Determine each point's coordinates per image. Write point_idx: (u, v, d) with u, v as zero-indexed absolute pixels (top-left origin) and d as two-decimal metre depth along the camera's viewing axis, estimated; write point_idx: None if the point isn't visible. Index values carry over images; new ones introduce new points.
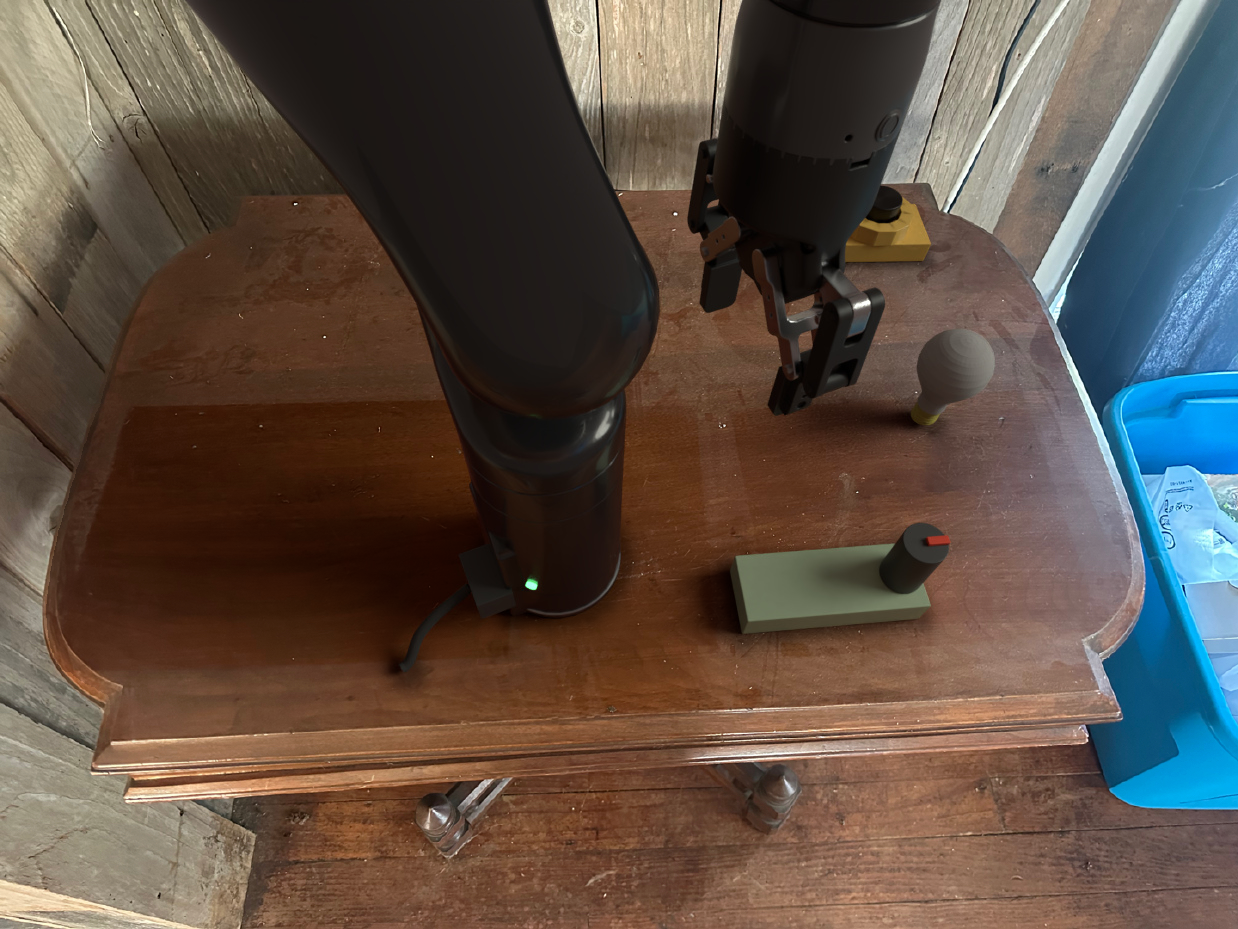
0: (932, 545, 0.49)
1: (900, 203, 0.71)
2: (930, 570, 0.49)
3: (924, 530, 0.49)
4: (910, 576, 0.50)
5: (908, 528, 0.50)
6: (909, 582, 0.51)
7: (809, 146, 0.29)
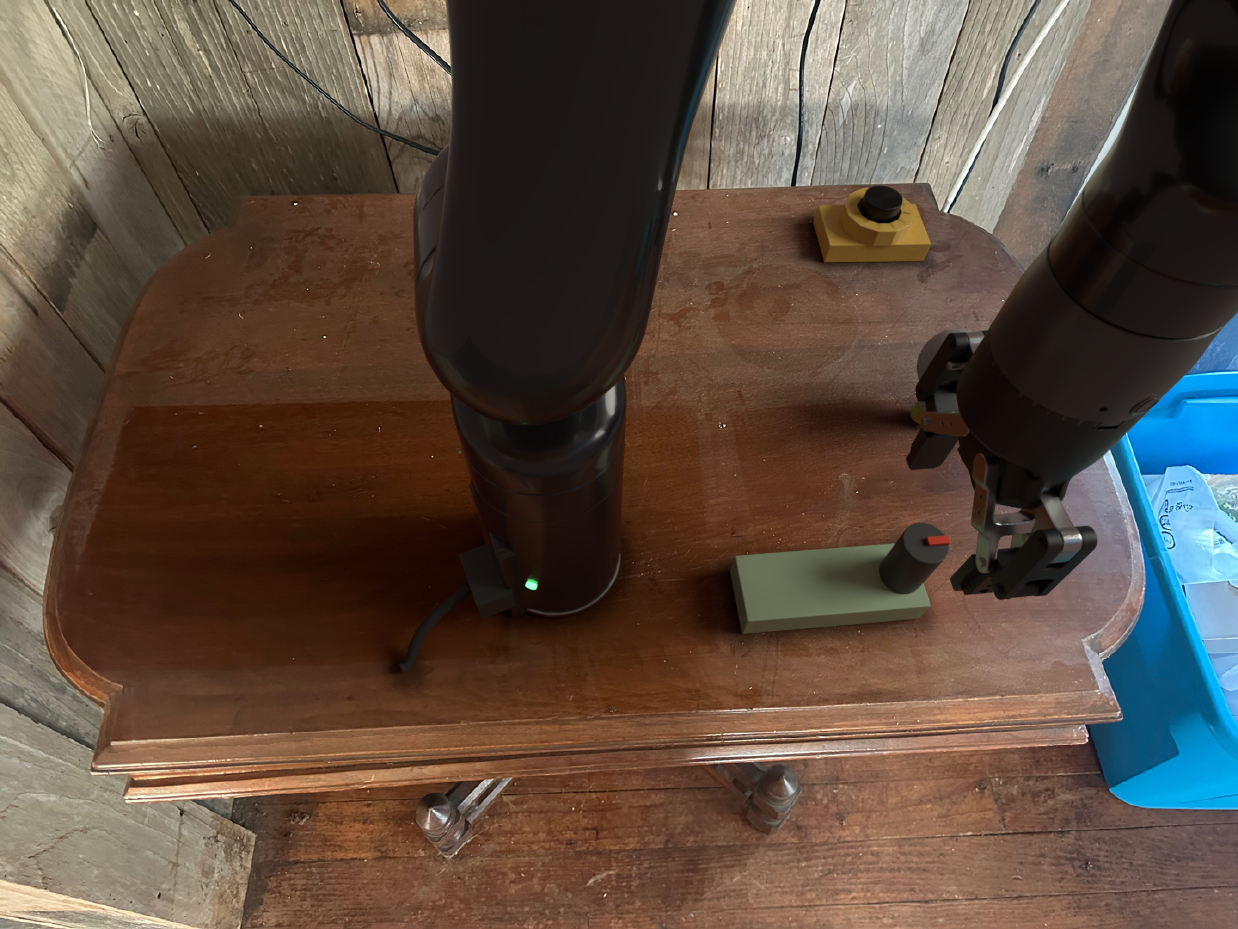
0: (932, 545, 0.49)
1: (900, 203, 0.71)
2: (930, 570, 0.49)
3: (924, 530, 0.49)
4: (910, 576, 0.50)
5: (908, 528, 0.50)
6: (909, 582, 0.51)
7: (1062, 406, 0.31)
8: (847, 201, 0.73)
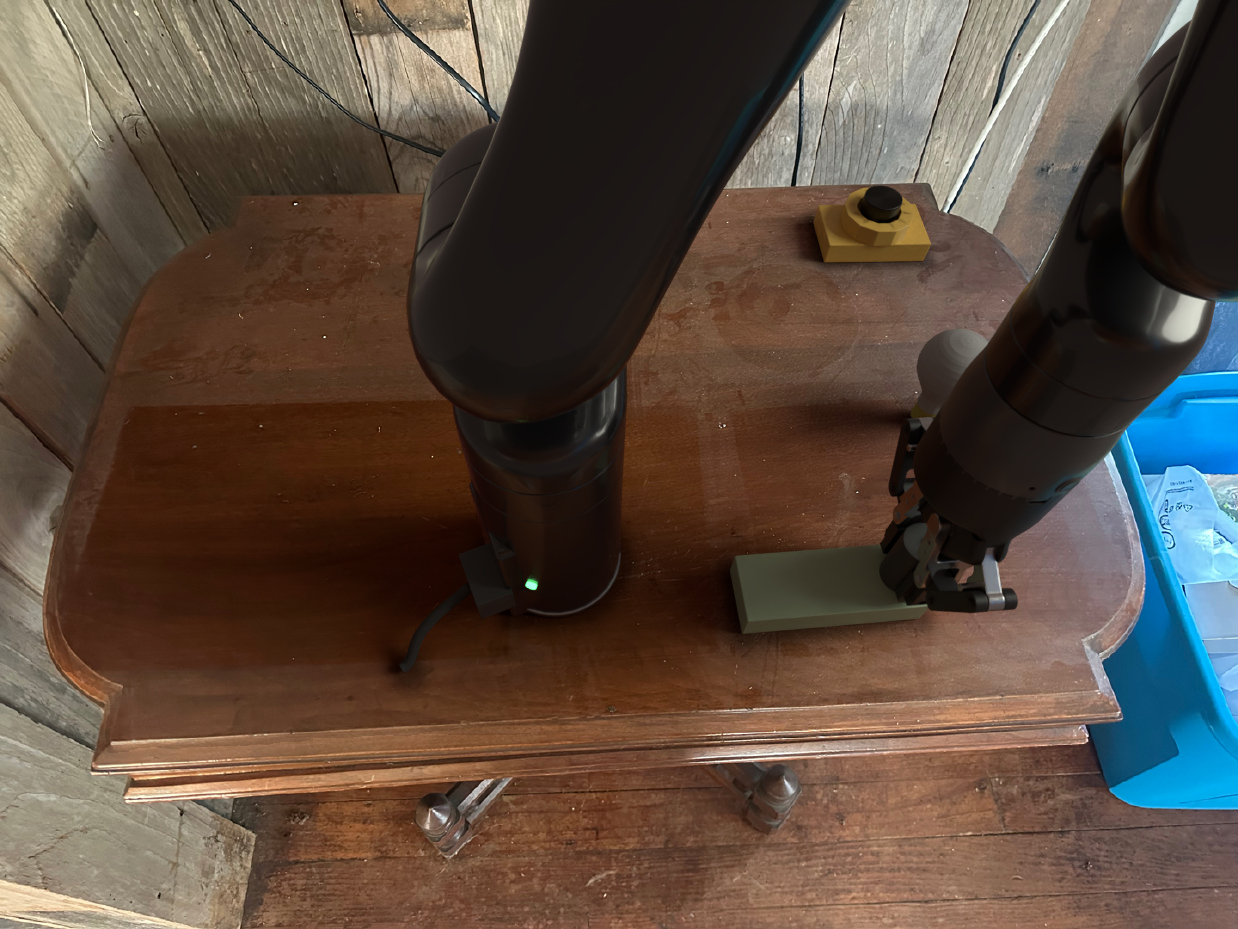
0: None
1: (900, 203, 0.71)
2: None
3: (924, 530, 0.49)
4: None
5: (908, 528, 0.50)
6: None
7: (998, 484, 0.36)
8: (847, 201, 0.73)
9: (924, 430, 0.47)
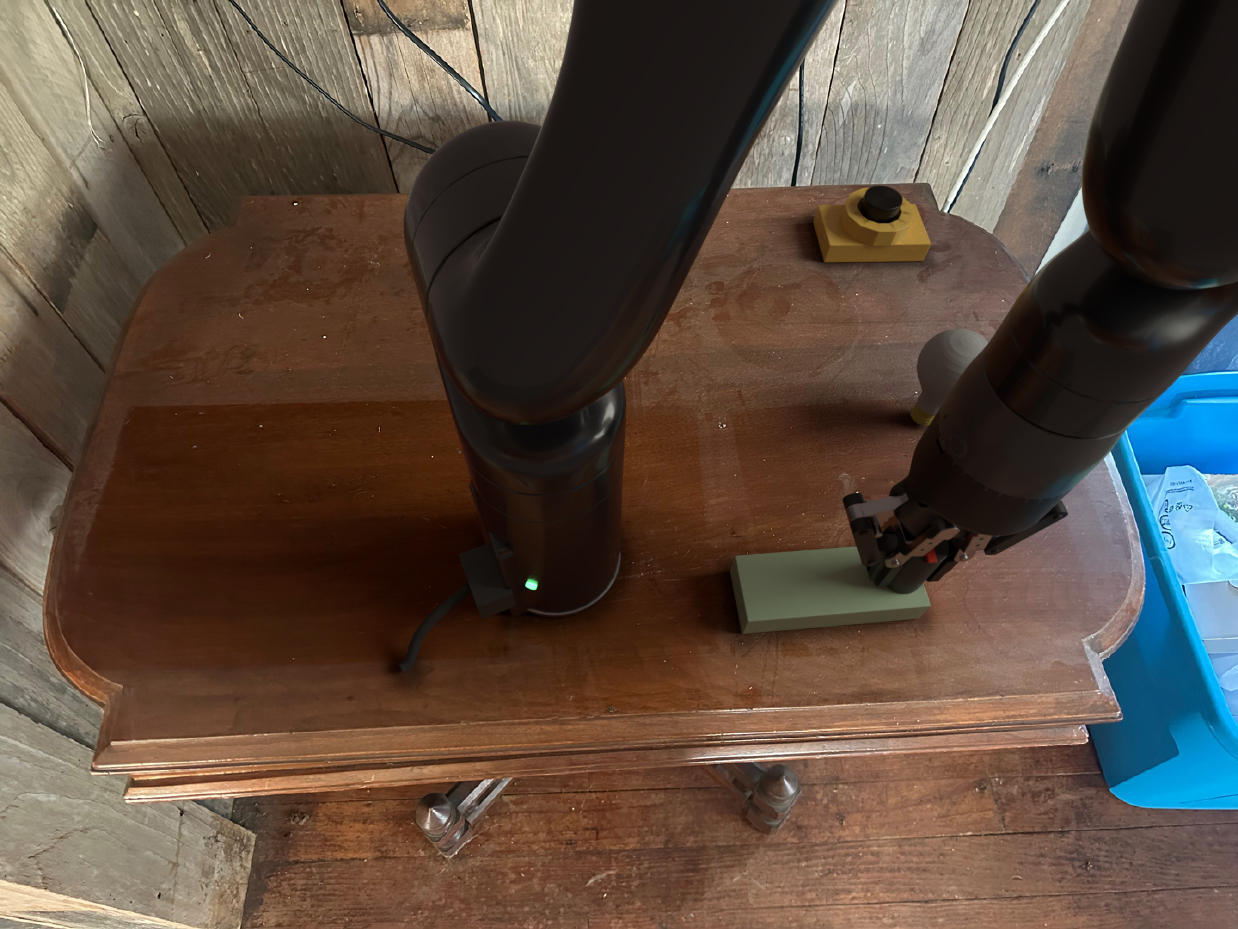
0: None
1: (900, 203, 0.71)
2: None
3: (939, 545, 0.49)
4: None
5: None
6: None
7: (945, 401, 0.39)
8: (847, 201, 0.73)
9: None
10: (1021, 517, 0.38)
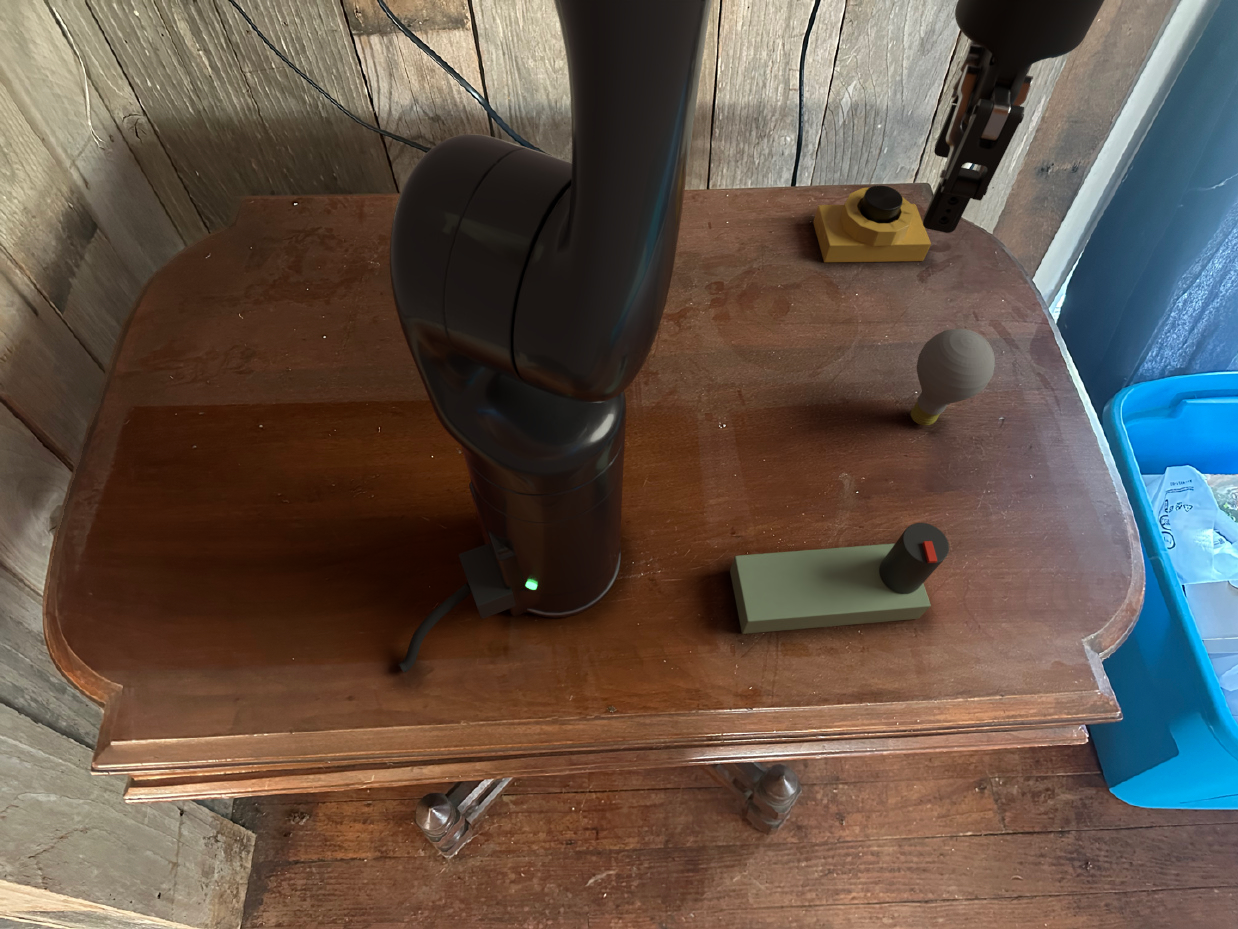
0: (923, 546, 0.49)
1: (900, 203, 0.71)
2: (898, 554, 0.50)
3: (939, 545, 0.49)
4: (892, 548, 0.51)
5: (939, 531, 0.49)
6: (888, 556, 0.52)
7: None
8: (847, 201, 0.73)
9: None
10: None
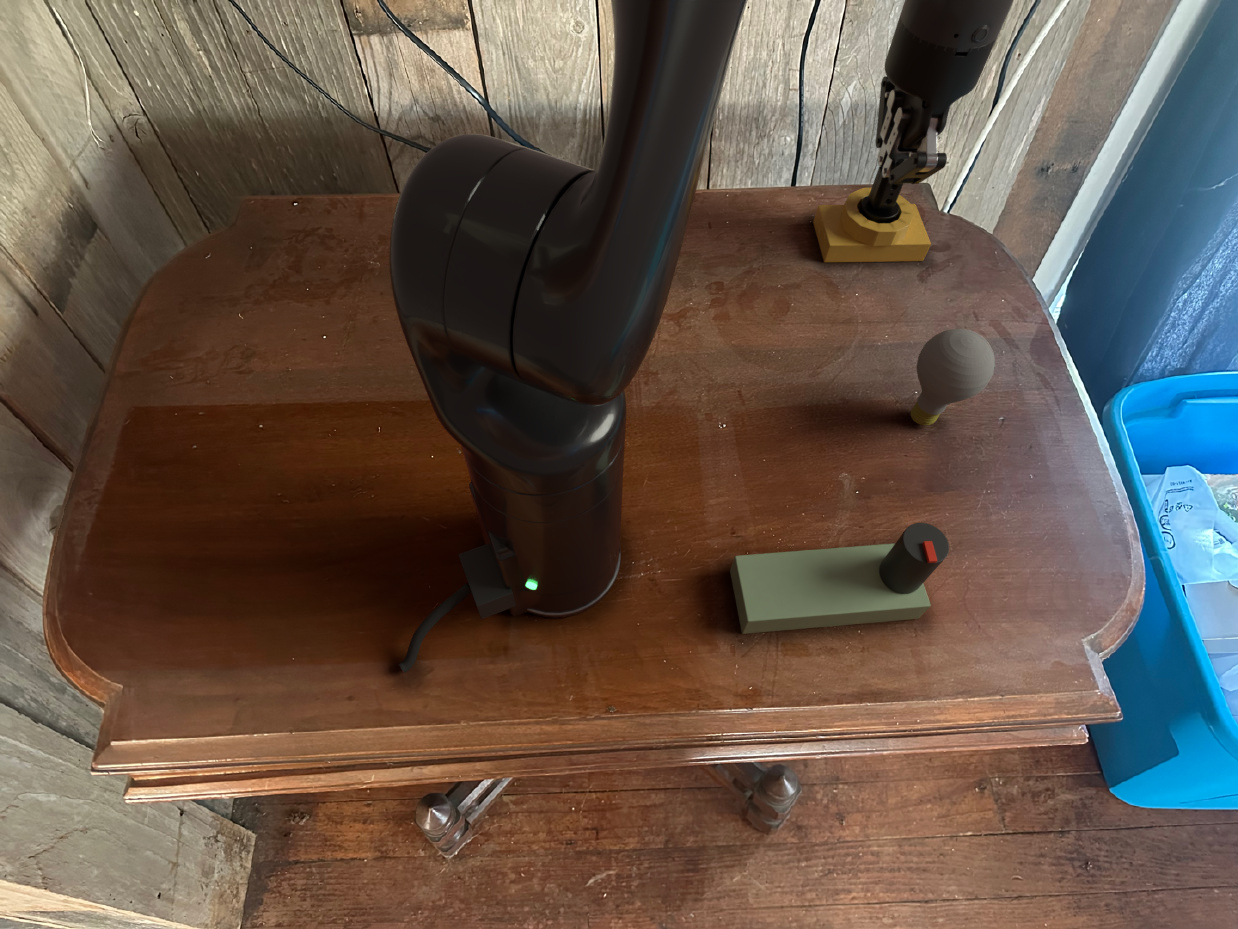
0: (923, 546, 0.49)
1: (897, 211, 0.72)
2: (898, 554, 0.50)
3: (939, 545, 0.49)
4: (892, 548, 0.51)
5: (939, 531, 0.49)
6: (888, 556, 0.52)
7: (934, 37, 0.56)
8: (847, 201, 0.73)
9: None
10: None
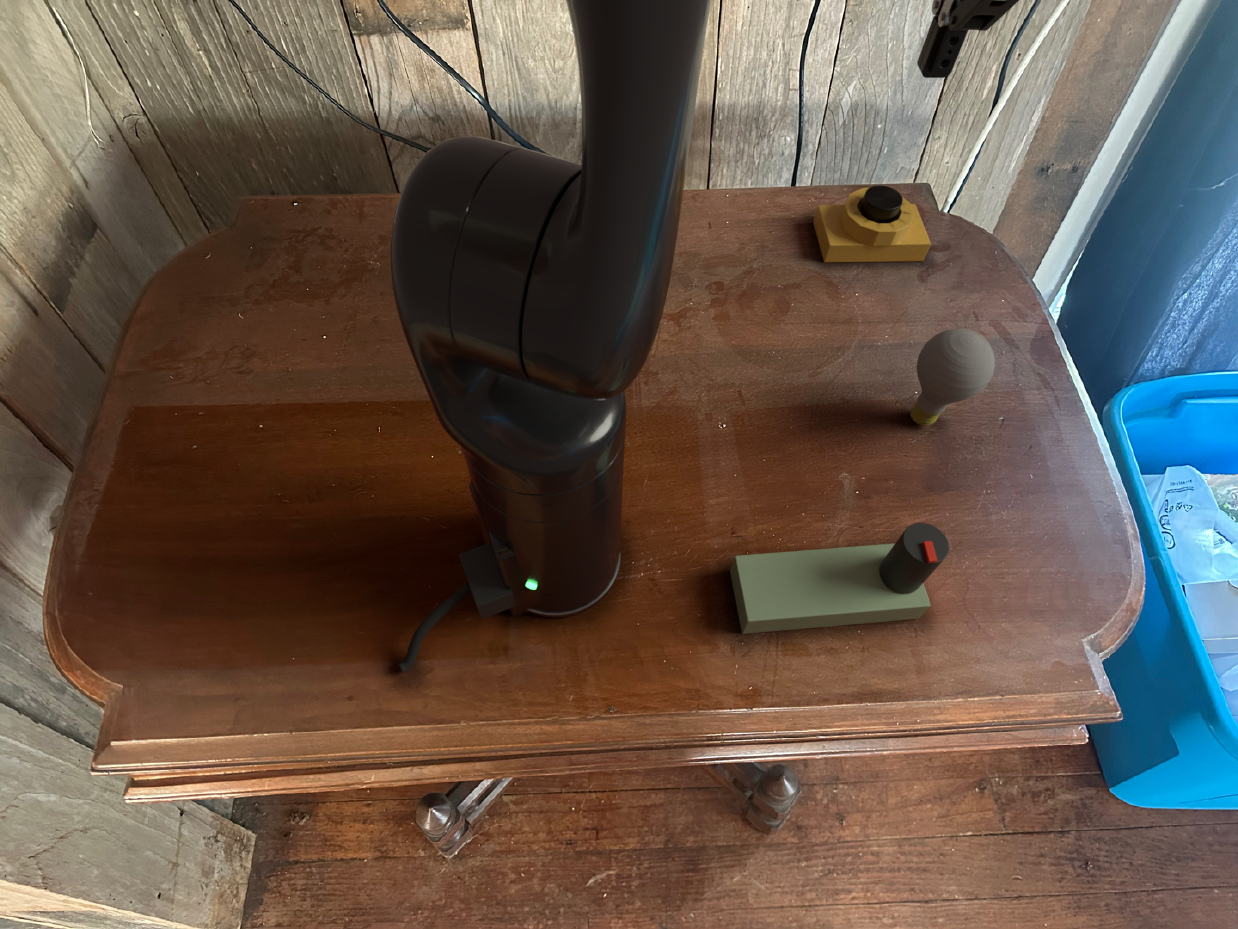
0: (923, 546, 0.49)
1: (900, 203, 0.71)
2: (898, 554, 0.50)
3: (939, 545, 0.49)
4: (892, 548, 0.51)
5: (939, 531, 0.49)
6: (888, 556, 0.52)
7: None
8: (847, 201, 0.73)
9: None
10: None
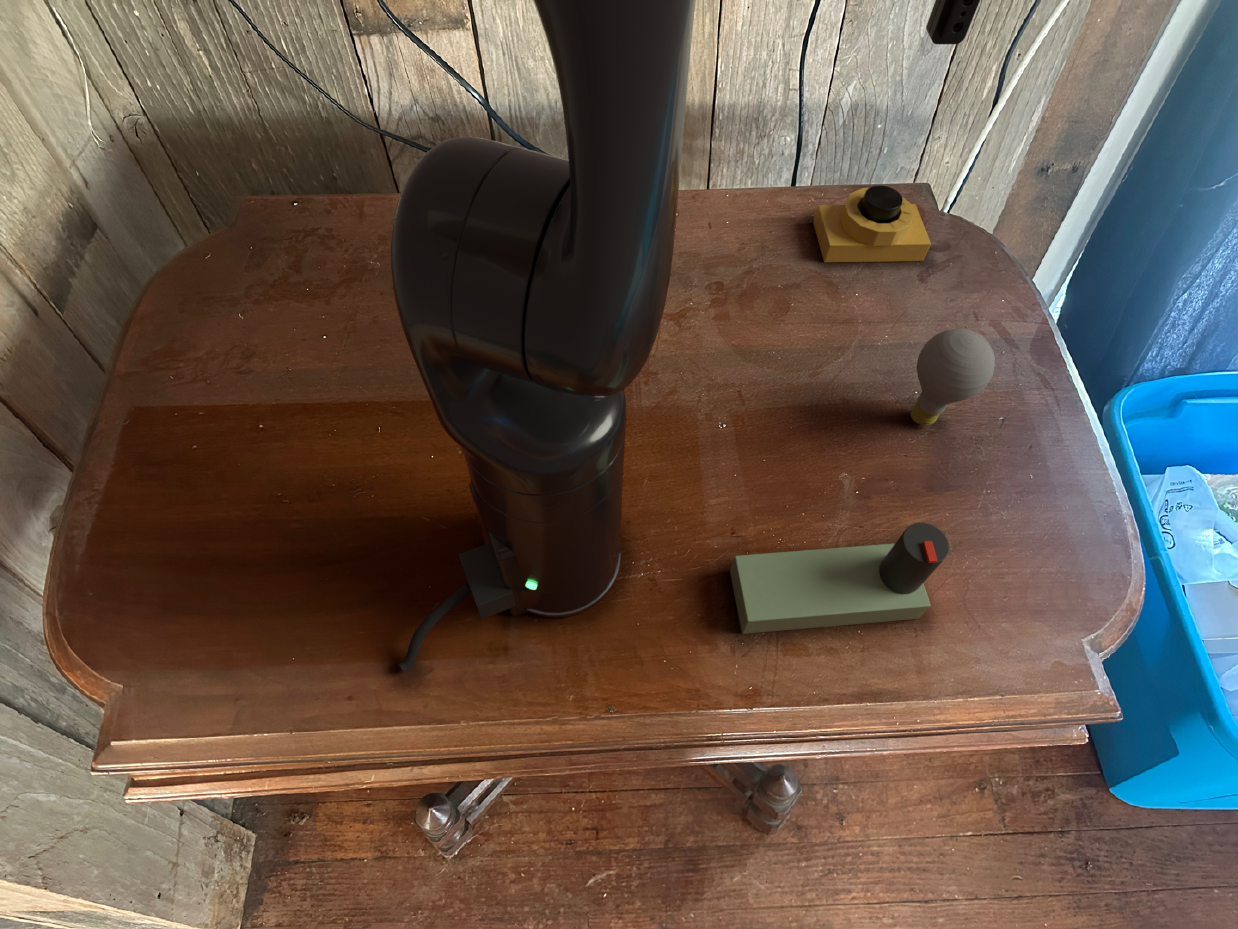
0: (923, 546, 0.49)
1: (900, 203, 0.71)
2: (898, 554, 0.50)
3: (939, 545, 0.49)
4: (892, 548, 0.51)
5: (939, 531, 0.49)
6: (888, 556, 0.52)
7: None
8: (847, 201, 0.73)
9: None
10: None
